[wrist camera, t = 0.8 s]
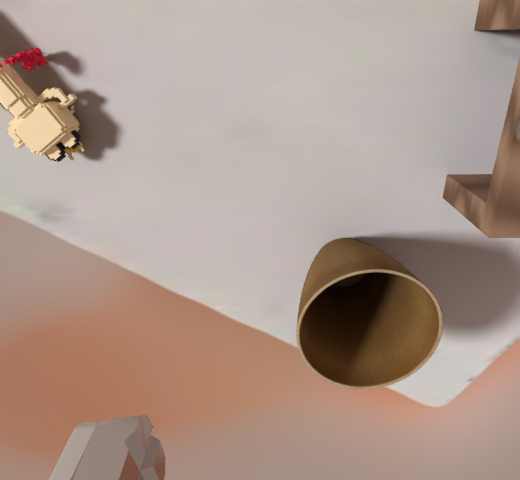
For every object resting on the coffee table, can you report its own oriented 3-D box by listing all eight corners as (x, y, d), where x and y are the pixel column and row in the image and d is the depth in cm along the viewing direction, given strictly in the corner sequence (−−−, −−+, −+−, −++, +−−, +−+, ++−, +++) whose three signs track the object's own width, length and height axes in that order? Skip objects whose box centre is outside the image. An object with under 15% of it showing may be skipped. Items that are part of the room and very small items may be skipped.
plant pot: (408, 287, 59) (455, 367, 45) (307, 318, 62) (321, 403, 47) (382, 193, 53) (427, 250, 39) (272, 231, 56) (275, 299, 41)
